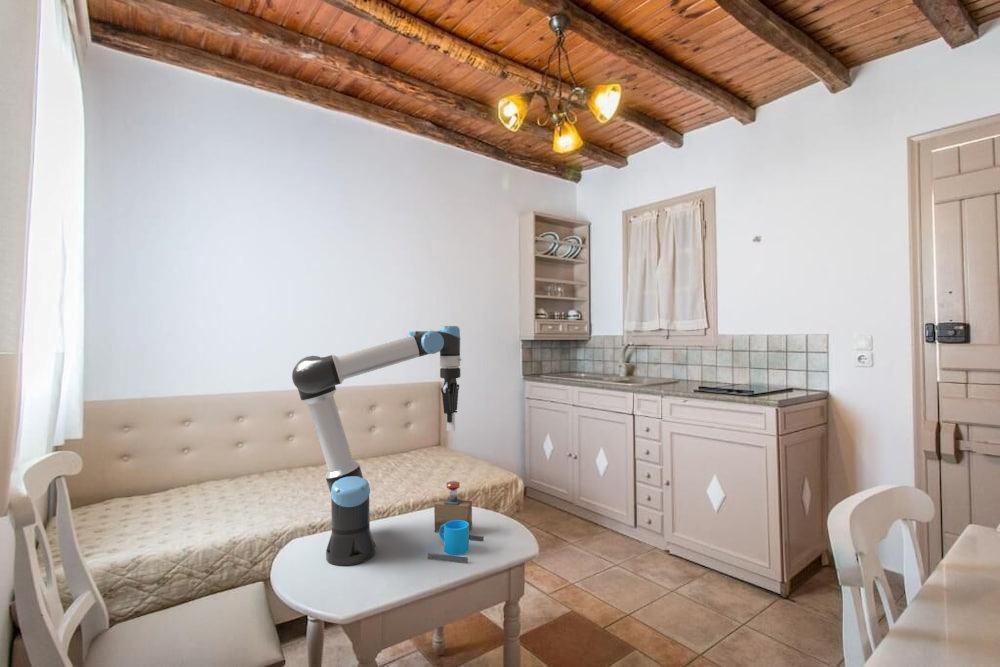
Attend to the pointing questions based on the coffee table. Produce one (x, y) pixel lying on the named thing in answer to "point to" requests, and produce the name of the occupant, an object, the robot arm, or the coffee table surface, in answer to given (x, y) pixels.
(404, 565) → the coffee table surface
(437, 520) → the end cabinet
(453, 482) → the red rounded piece
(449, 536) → the mug
